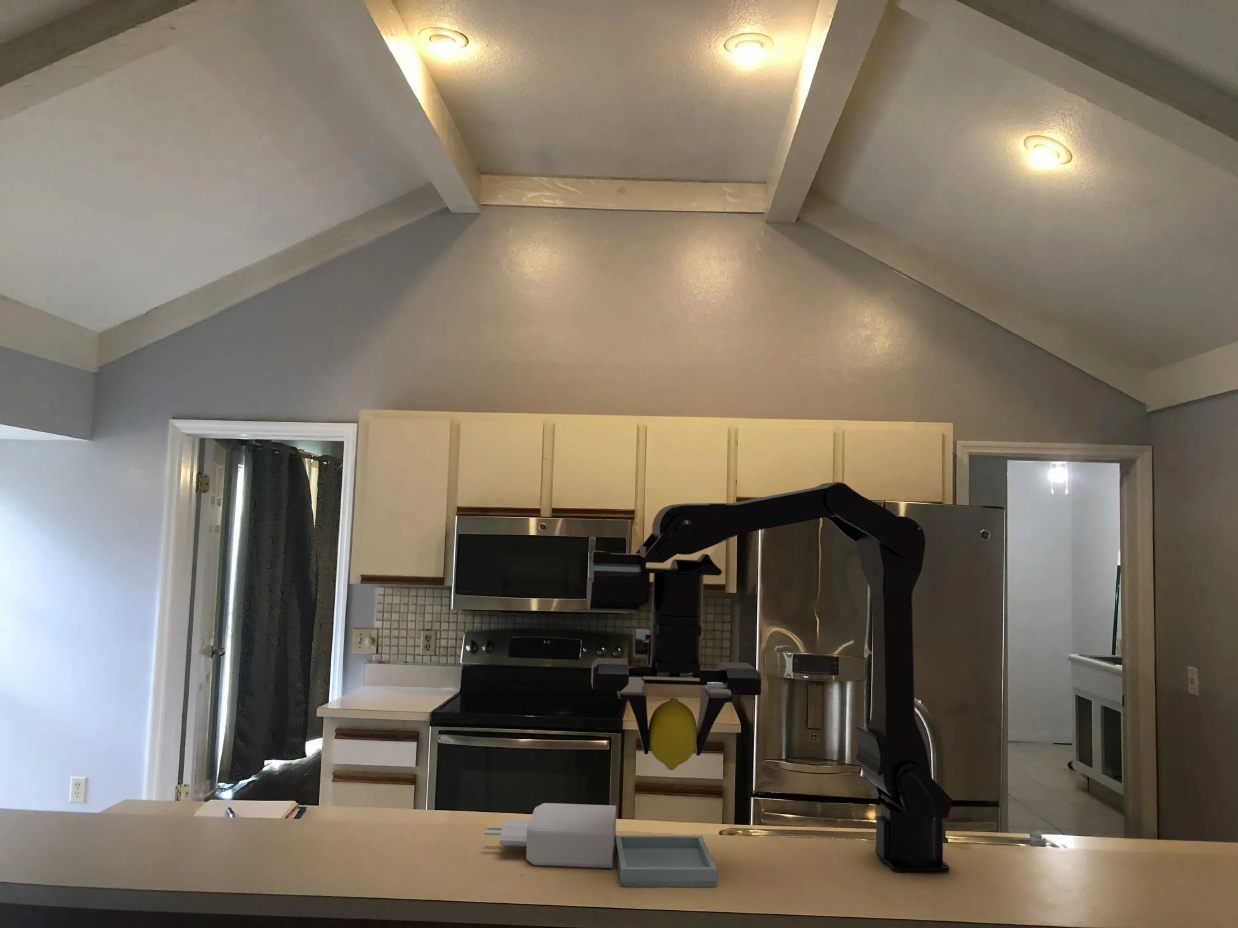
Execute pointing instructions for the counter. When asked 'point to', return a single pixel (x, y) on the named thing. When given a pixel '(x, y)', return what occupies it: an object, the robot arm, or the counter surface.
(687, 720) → the lemon
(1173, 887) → the counter surface
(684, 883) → the tray
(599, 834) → the charger
